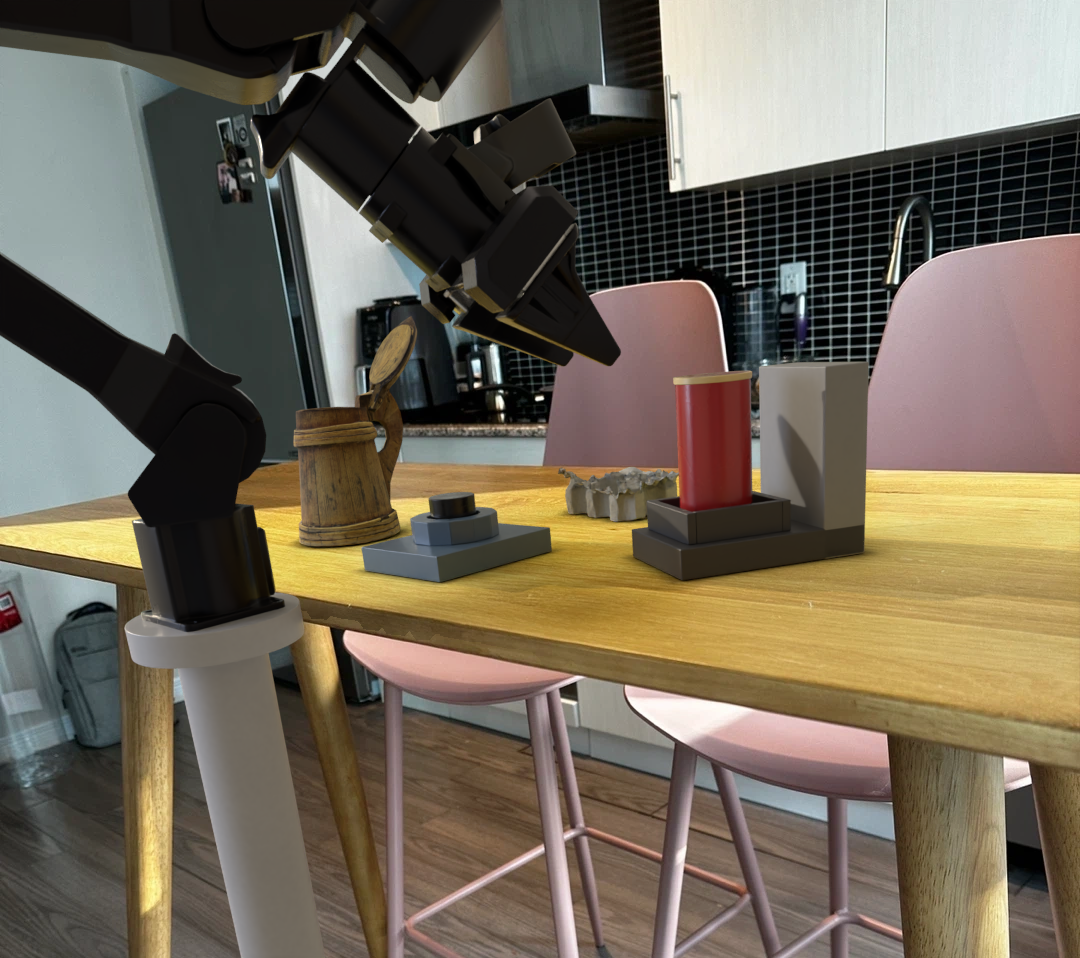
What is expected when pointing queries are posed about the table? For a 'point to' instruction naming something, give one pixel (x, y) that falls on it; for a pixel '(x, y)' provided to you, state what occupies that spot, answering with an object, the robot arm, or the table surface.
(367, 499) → the wooden mug
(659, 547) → the coffee maker
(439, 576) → the control pad
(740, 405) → the red cylinder
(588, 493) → the egg carton
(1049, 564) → the table surface
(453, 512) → the button
